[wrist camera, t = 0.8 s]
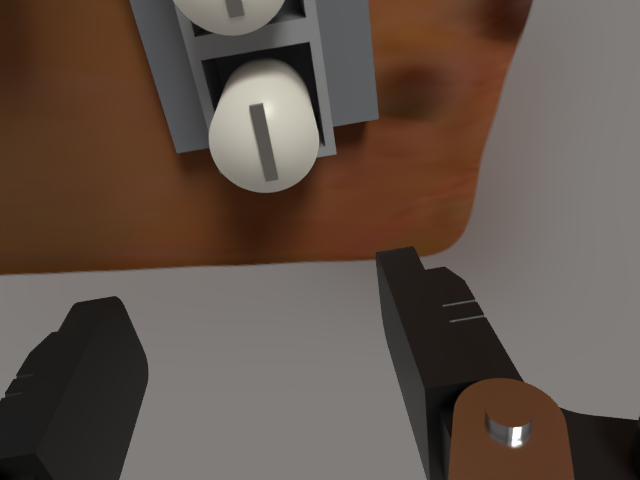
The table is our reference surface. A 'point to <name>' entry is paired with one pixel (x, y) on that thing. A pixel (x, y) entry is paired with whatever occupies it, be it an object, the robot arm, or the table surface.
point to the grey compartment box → (268, 41)
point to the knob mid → (229, 14)
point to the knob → (264, 127)
